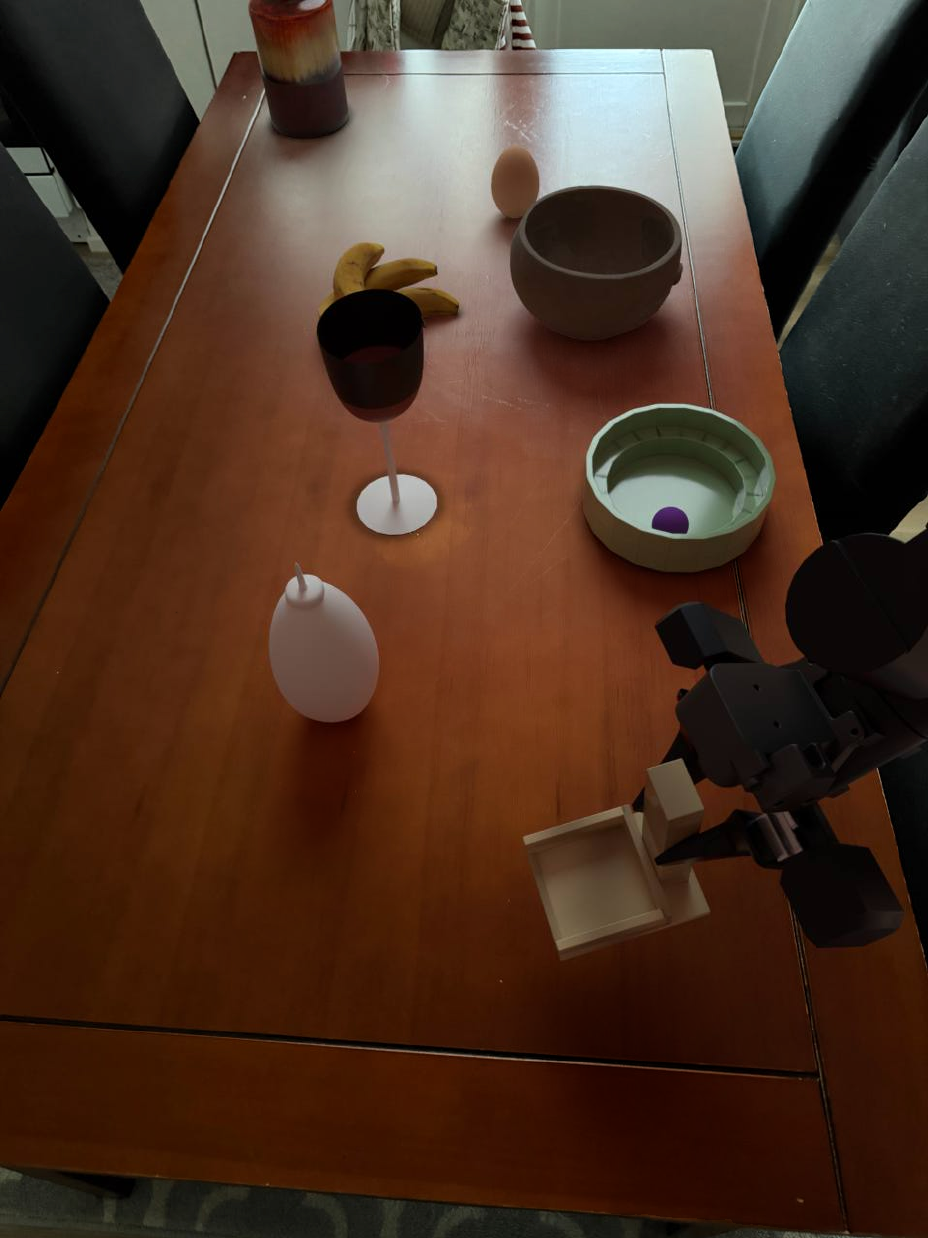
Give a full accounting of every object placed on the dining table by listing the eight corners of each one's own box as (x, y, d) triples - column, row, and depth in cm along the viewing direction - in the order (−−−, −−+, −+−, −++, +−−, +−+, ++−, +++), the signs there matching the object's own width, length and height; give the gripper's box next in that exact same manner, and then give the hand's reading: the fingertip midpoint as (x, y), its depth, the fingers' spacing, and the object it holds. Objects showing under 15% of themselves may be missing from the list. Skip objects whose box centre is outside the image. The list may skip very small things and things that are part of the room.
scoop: (664, 807, 59) (675, 720, 48) (709, 914, 55) (732, 845, 44) (525, 850, 58) (506, 772, 48) (560, 961, 54) (547, 903, 44)
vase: (354, 131, 123) (331, -44, 106) (276, 143, 122) (239, -31, 105) (342, 94, 129) (318, -77, 113) (267, 105, 128) (232, -65, 111)
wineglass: (345, 536, 82) (304, 359, 66) (364, 467, 87) (330, 286, 71) (431, 543, 81) (412, 365, 65) (445, 472, 86) (430, 291, 70)
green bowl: (776, 465, 85) (789, 426, 81) (742, 596, 77) (755, 560, 72) (609, 427, 89) (614, 387, 85) (559, 548, 80) (562, 510, 76)
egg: (532, 231, 108) (534, 162, 101) (486, 225, 109) (485, 157, 102) (543, 204, 111) (545, 136, 104) (497, 199, 112) (497, 132, 106)
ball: (662, 507, 76) (696, 506, 77) (645, 505, 80) (678, 505, 80) (661, 545, 77) (695, 544, 78) (644, 542, 80) (677, 540, 81)
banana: (326, 390, 93) (316, 345, 89) (319, 280, 104) (310, 235, 100) (472, 373, 94) (470, 327, 89) (450, 265, 105) (447, 220, 100)
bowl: (692, 285, 101) (709, 200, 93) (635, 382, 92) (647, 298, 84) (551, 248, 106) (555, 165, 98) (484, 337, 97) (482, 253, 89)
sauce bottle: (389, 659, 74) (360, 514, 60) (384, 744, 70) (352, 611, 55) (295, 661, 75) (243, 517, 60) (284, 746, 70) (225, 614, 55)
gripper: (720, 496, 43) (501, 674, 51) (941, 861, 33) (623, 1014, 41) (824, 559, 51) (619, 706, 58) (1030, 873, 40) (747, 1001, 48)
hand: (647, 835), depth 51 cm, fingers closed on scoop, 3 cm apart
